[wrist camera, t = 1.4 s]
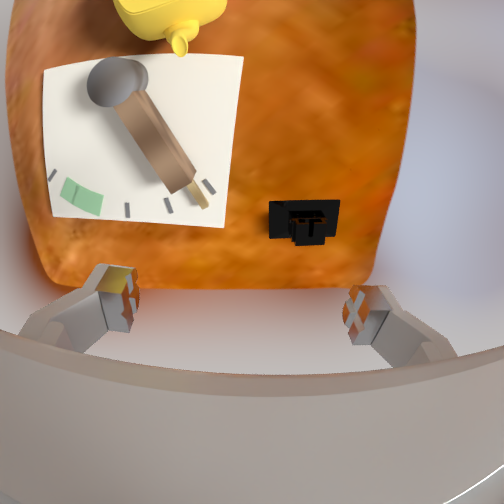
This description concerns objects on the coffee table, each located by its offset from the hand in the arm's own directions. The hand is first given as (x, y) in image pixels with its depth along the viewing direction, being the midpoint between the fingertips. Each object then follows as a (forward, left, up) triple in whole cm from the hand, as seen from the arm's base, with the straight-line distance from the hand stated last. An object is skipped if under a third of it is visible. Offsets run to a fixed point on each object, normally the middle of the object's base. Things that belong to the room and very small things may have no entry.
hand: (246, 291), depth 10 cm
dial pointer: (-1, -9, -22) cm, 24 cm away
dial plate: (0, -13, -24) cm, 27 cm away
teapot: (-17, -9, -24) cm, 31 cm away
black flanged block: (+8, +9, -25) cm, 28 cm away
